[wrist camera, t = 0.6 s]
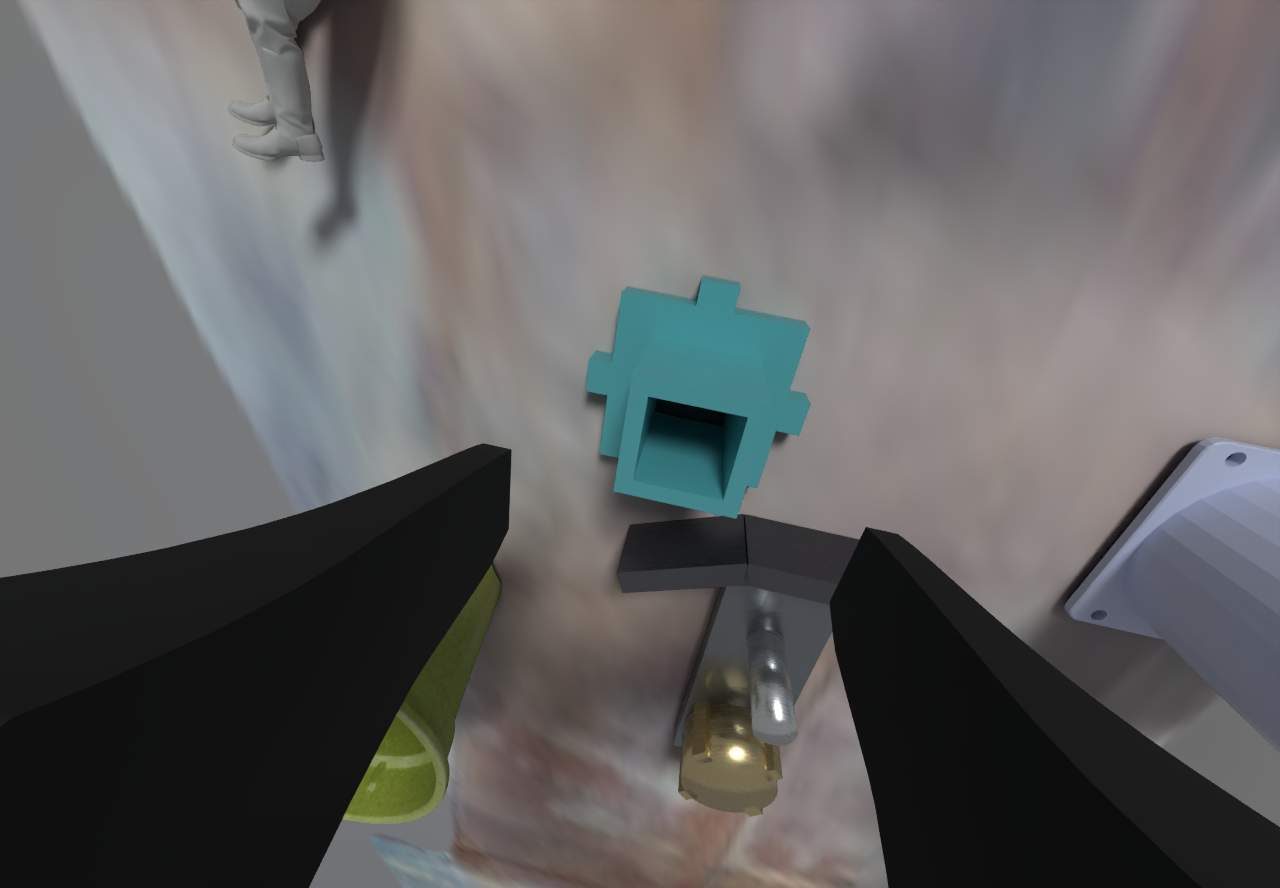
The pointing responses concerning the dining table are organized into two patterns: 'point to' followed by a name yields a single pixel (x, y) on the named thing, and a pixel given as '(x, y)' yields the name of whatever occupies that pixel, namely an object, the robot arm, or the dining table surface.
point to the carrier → (741, 641)
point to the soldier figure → (279, 83)
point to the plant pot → (426, 723)
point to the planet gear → (697, 394)
